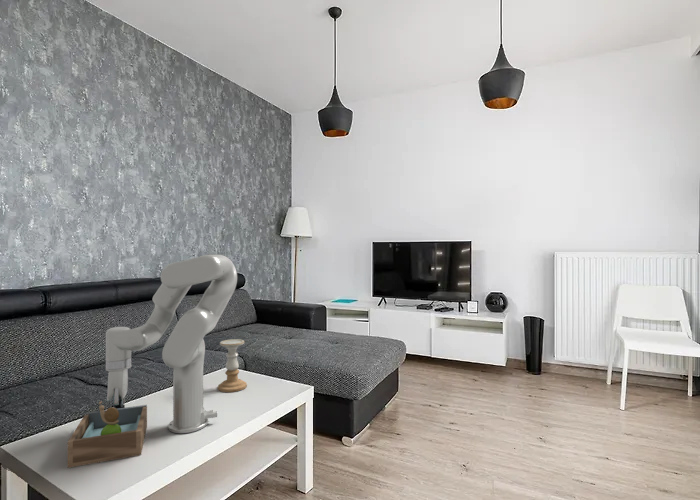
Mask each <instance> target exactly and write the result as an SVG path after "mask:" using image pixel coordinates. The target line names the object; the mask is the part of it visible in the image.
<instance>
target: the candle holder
mask: <svg viewBox="0 0 700 500" xmlns="http://www.w3.org/2000/svg"><path fill="white" fill-rule="evenodd" d="M244 344H245V340H243V339H240V338H239V339H237V338H235V339H234V338H233V339H224V340H221V341H220V342H219V345H220V346H221V347H223V348H224V347H225V349H227V351H228V352H227V353H226V355H225V356H226V358H227V361H226V364H225V369H226V371H225V375H226V380H223V381H222V382H220V383H219V384H218V386H217V390H218V391H219V392H221V393H235V392H236V391H237V392H240V390H241V391H243V390H246V388H247V386H248V384H247V382H246V381H244V380H242V379H241V378H239V377H238V375H239V373H240V370H239V366H240V365H239V361H238V356H239V353H238V352H237V349H238V348H239V347H241V346H242V345H244Z"/></svg>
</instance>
